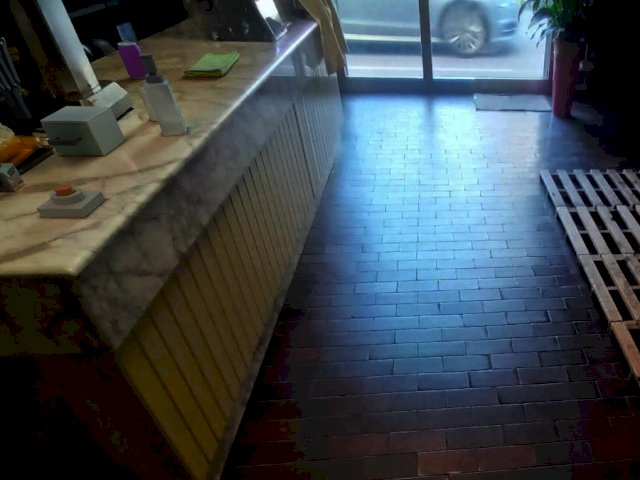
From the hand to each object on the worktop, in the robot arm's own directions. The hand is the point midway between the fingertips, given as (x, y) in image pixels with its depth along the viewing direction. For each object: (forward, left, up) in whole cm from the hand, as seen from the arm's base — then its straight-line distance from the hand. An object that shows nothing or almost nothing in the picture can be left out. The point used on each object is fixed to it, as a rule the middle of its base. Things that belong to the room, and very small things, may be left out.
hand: (24, 117), depth 132 cm
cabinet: (0, +20, -14) cm, 25 cm away
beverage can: (-21, +101, -15) cm, 104 cm away
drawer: (0, +16, -13) cm, 21 cm away
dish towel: (+2, +121, -14) cm, 122 cm away
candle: (+8, +48, -14) cm, 51 cm away
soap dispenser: (+18, +36, -15) cm, 43 cm away
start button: (+16, -22, -11) cm, 29 cm away
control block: (+16, -22, -14) cm, 31 cm away
